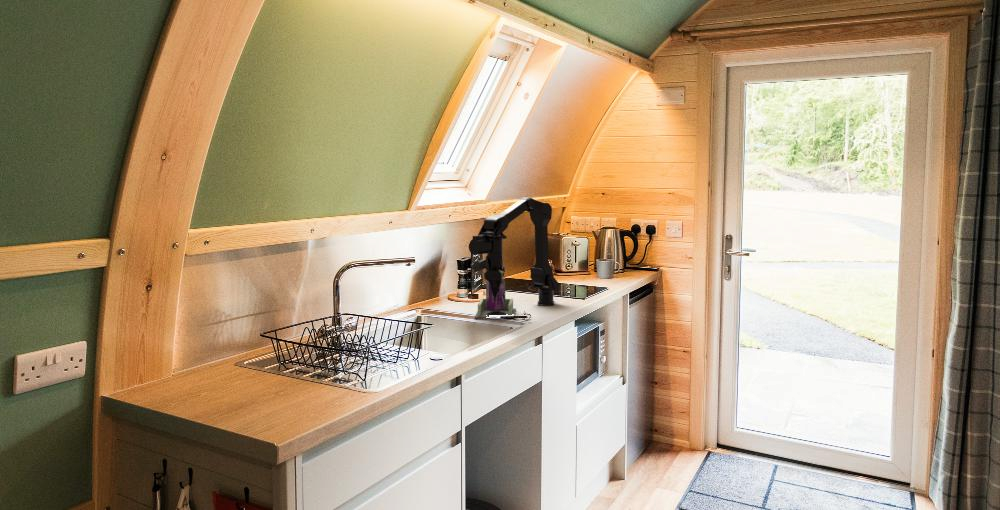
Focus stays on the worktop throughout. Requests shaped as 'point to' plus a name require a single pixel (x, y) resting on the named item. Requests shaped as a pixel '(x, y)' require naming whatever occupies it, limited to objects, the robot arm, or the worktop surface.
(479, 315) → the chute bracket
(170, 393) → the worktop surface
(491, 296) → the beverage can
